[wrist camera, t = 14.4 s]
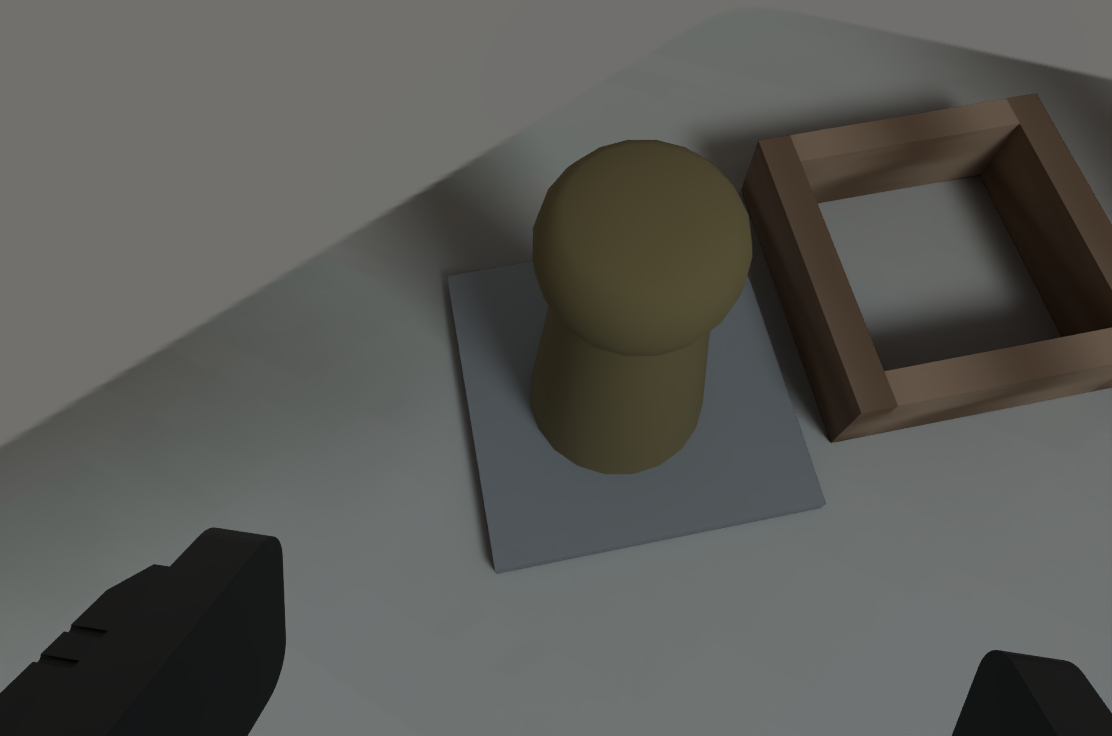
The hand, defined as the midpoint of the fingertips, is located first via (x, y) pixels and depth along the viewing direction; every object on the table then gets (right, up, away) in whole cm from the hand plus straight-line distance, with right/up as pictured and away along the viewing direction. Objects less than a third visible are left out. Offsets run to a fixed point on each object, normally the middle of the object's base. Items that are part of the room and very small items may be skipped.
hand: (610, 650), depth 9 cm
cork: (+1, +2, +18) cm, 19 cm away
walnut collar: (+13, +7, +20) cm, 25 cm away
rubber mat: (+2, +3, +19) cm, 19 cm away
